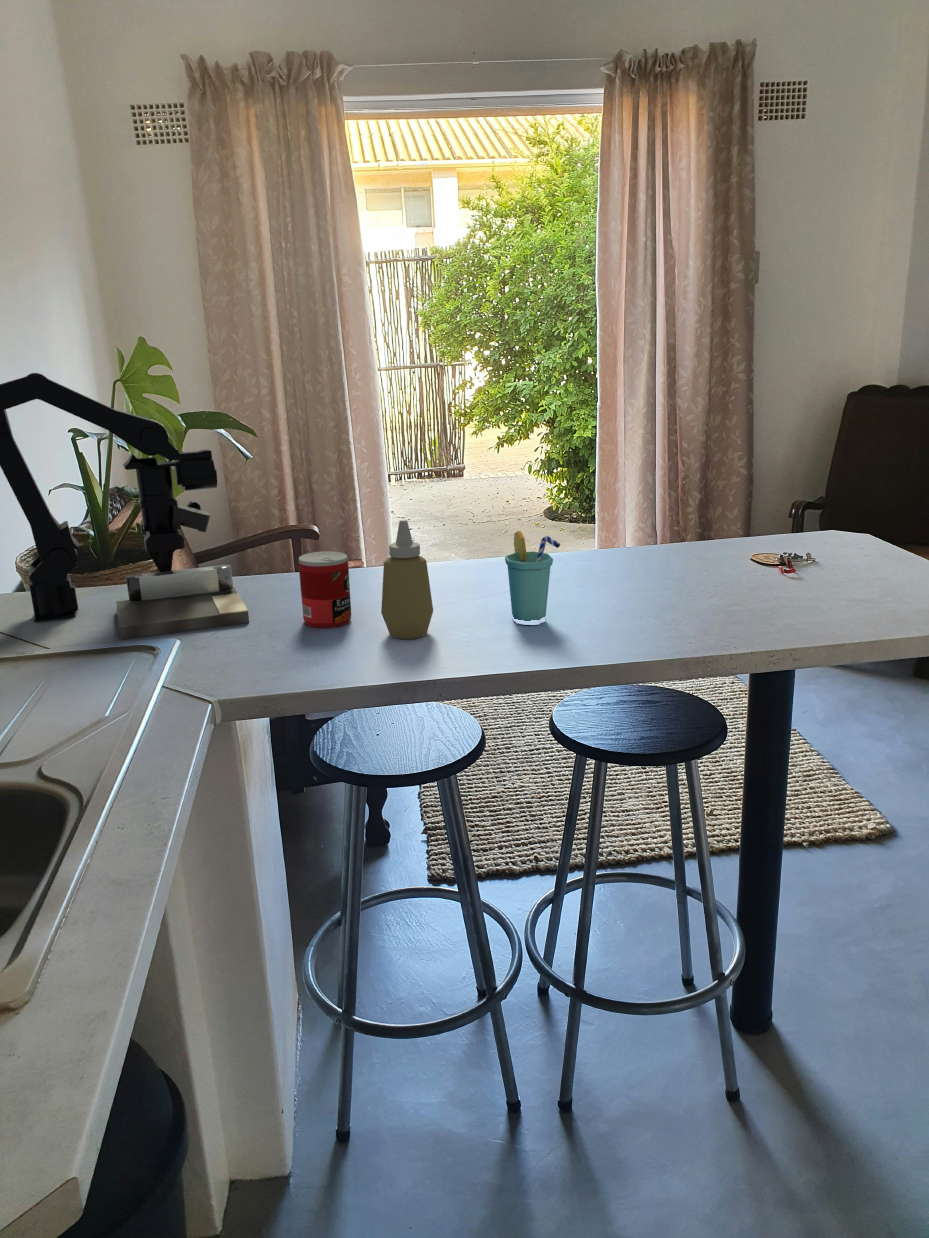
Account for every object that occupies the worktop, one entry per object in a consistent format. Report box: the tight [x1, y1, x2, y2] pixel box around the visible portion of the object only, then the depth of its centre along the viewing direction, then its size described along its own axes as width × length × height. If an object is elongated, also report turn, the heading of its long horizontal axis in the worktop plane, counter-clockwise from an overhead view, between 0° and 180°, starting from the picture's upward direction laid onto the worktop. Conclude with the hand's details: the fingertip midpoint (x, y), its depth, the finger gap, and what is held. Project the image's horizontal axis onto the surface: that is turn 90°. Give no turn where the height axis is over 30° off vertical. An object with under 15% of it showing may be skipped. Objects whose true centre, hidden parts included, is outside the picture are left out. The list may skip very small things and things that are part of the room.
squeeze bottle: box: [380, 519, 434, 640], centre depth 137 cm, size 8×8×18 cm
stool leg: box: [125, 564, 234, 601], centre depth 155 cm, size 18×3×4 cm, turn 112°
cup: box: [504, 530, 561, 621], centre depth 142 cm, size 14×8×15 cm, turn 30°
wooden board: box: [115, 587, 250, 641], centre depth 150 cm, size 20×16×2 cm
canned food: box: [298, 550, 352, 629], centre depth 145 cm, size 8×8×11 cm
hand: (167, 579), depth 160 cm, fingers closed
